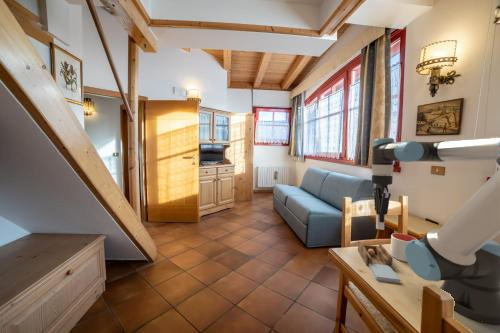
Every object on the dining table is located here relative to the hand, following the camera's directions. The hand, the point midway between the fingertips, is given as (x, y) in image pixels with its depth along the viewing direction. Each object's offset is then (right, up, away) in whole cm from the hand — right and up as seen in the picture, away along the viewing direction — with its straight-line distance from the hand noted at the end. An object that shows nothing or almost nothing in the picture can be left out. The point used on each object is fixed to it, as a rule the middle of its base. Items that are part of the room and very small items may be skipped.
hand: (380, 228), depth 91 cm
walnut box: (+1, -16, +7) cm, 18 cm away
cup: (+16, -16, +8) cm, 24 cm away
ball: (+2, -16, +10) cm, 19 cm away
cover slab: (-2, -18, -5) cm, 18 cm away
